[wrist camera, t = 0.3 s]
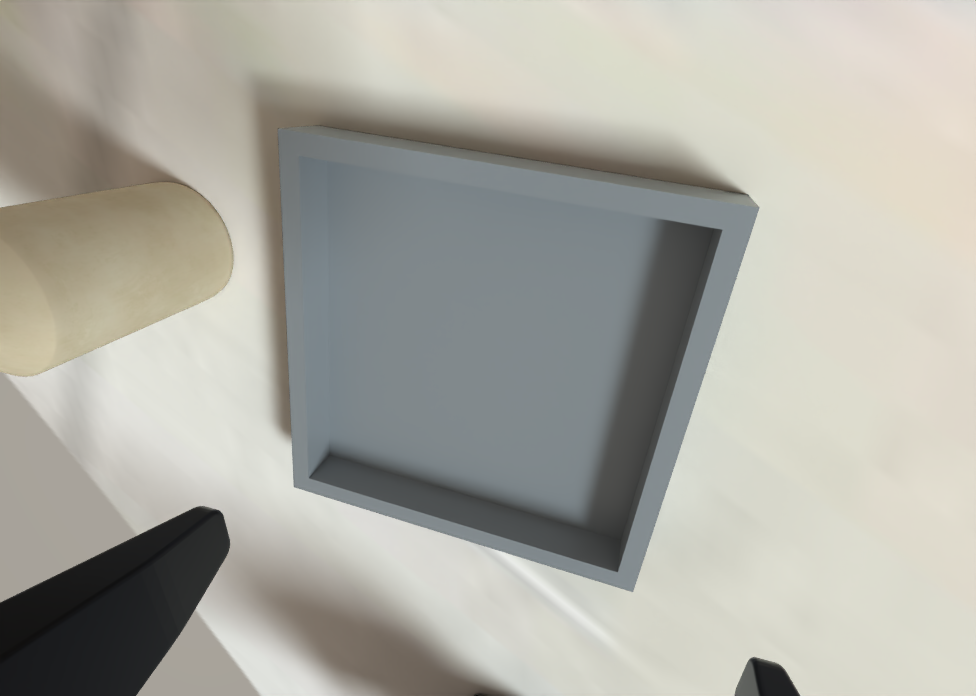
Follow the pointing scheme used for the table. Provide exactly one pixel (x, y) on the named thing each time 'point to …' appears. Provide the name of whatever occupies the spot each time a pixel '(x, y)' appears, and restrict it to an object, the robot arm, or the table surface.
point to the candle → (103, 269)
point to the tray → (498, 339)
